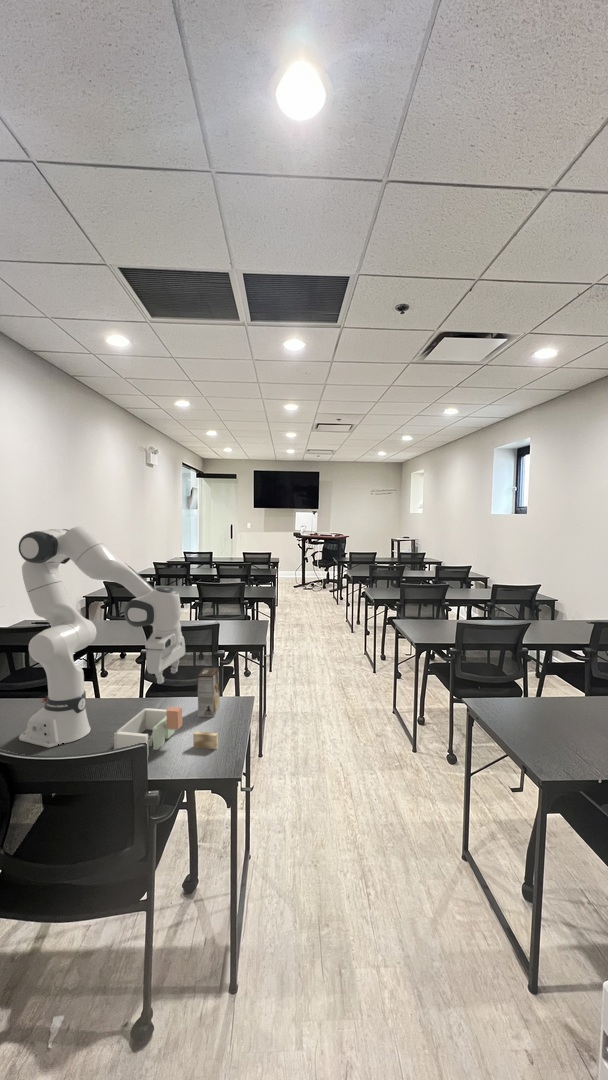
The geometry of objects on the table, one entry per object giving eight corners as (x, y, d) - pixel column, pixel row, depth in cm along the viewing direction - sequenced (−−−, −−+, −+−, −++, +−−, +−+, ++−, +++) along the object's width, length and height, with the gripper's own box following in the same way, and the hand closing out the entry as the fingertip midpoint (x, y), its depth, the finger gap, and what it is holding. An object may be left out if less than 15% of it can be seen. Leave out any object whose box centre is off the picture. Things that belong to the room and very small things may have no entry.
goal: (114, 754, 143) (113, 733, 143) (145, 726, 162) (145, 708, 162) (146, 758, 142) (145, 736, 141) (173, 729, 160) (173, 710, 160)
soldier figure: (135, 753, 146) (143, 725, 157) (147, 760, 148) (155, 732, 159) (150, 739, 145) (158, 712, 156) (162, 746, 146) (169, 719, 157)
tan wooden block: (193, 747, 148) (193, 733, 148) (195, 744, 150) (195, 731, 149) (216, 749, 147) (216, 735, 146) (218, 746, 148) (218, 733, 148)
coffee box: (204, 706, 179) (203, 667, 178) (220, 707, 179) (219, 667, 178) (197, 717, 170) (197, 675, 169) (214, 717, 169) (213, 675, 169)
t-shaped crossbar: (153, 749, 145) (152, 716, 144) (170, 731, 157) (170, 700, 156) (172, 751, 144) (171, 717, 143) (188, 733, 155) (187, 702, 155)
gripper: (172, 628, 159) (173, 666, 160) (142, 644, 139) (142, 688, 140) (189, 629, 158) (189, 667, 159) (161, 645, 138) (161, 690, 139)
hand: (167, 677), depth 149 cm, fingers open, 8 cm apart
